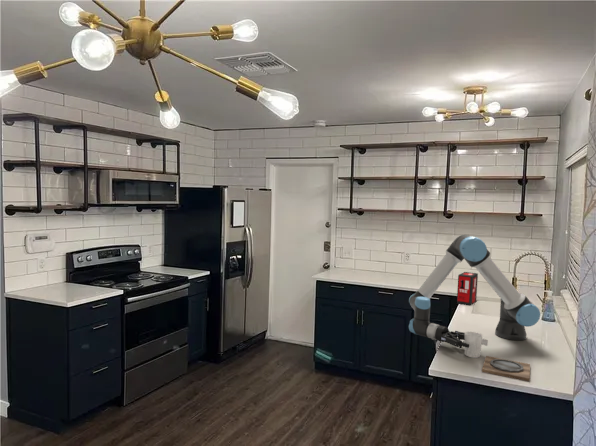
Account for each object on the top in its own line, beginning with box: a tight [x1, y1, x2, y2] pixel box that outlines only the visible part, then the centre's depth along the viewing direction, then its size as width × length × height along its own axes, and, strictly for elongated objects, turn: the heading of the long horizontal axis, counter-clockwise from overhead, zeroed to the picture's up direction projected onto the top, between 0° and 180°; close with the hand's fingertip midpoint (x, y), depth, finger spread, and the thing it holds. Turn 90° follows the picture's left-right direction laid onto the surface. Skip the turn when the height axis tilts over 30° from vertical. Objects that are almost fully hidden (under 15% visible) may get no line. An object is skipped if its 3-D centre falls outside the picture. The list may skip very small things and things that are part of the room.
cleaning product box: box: [456, 271, 479, 307], centre depth 311 cm, size 16×9×20 cm, turn 145°
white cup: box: [463, 331, 484, 359], centre depth 208 cm, size 8×8×10 cm
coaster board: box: [481, 355, 531, 382], centre depth 193 cm, size 18×18×2 cm
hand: (482, 345), depth 205 cm, fingers open, 10 cm apart
